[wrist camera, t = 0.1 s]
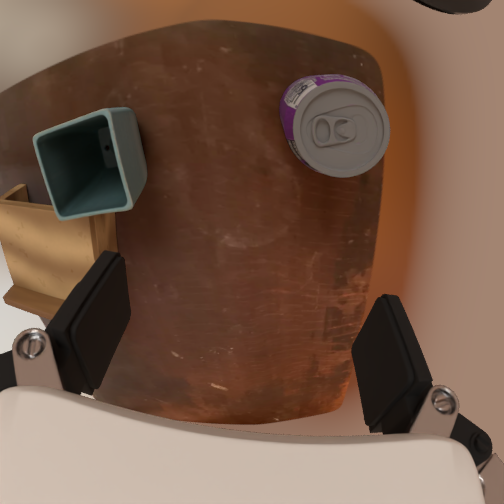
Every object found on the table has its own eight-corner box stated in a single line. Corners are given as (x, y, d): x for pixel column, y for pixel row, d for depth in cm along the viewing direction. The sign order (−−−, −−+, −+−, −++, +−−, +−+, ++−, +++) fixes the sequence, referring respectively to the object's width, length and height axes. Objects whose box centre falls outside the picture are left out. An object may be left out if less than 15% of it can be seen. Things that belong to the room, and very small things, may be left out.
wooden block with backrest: (19, 183, 32) (-24, 213, 24) (114, 192, 33) (73, 230, 25) (36, 266, 40) (5, 303, 32) (122, 286, 40) (96, 333, 32)
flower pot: (166, 175, 31) (134, 210, 24) (99, 187, 32) (57, 222, 25) (150, 96, 27) (108, 107, 19) (81, 117, 28) (30, 136, 20)
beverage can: (282, 147, 29) (290, 188, 19) (275, 77, 26) (279, 75, 15) (352, 143, 29) (395, 182, 18) (348, 75, 25) (395, 76, 15)
